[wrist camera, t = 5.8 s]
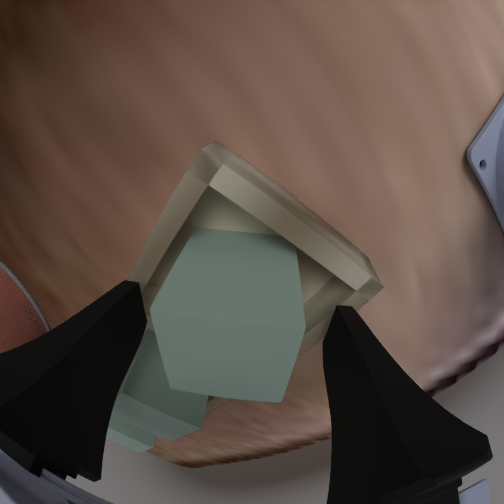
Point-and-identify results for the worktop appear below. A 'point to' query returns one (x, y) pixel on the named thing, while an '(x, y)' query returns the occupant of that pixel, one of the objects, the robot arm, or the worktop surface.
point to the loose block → (231, 315)
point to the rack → (256, 221)
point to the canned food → (18, 313)
